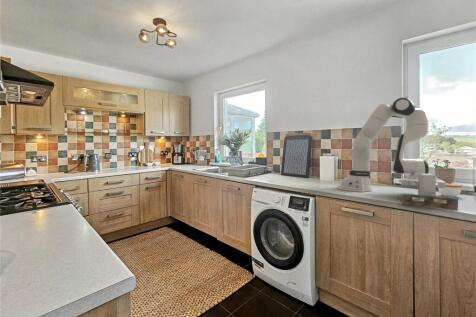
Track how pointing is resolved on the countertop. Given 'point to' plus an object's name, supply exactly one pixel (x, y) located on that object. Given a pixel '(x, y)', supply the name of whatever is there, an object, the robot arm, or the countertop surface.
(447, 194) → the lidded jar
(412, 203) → the shelf
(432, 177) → the skincare box
